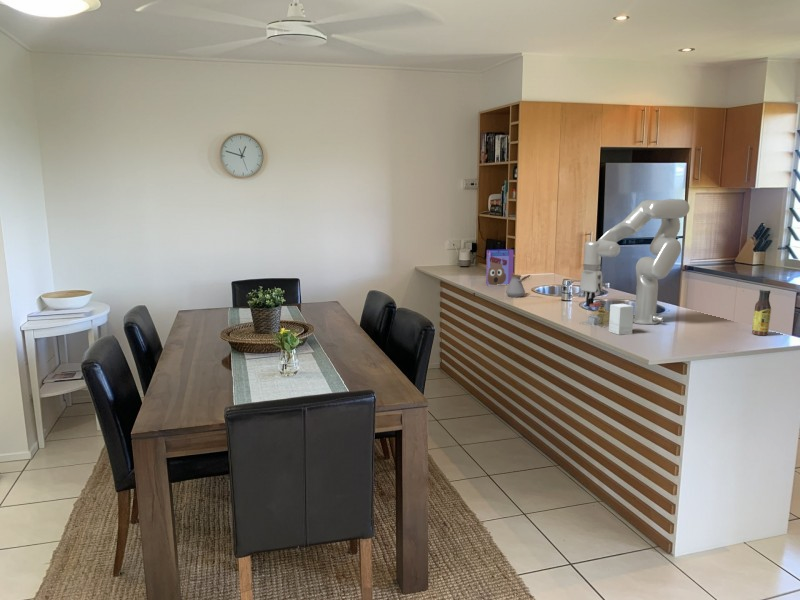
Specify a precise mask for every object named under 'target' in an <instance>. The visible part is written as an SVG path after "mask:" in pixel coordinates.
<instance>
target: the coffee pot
mask: <svg viewBox="0 0 800 600" xmlns="http://www.w3.org/2000/svg"><path fill="white" fill-rule="evenodd" d="M521 277H522V275H521V274H513V275H511V278H512V279H511V281H510V283H509V285H507V287H506V290H505V293H506V295H507V296H508V297H510V298H522V297H523V296H524V295H525V294H526V291H525V288H524V286H523V283H522V281H523V280H525V279H527V278H528V279H532V277H533V276H532V275H531V274H529V275H526V276H524V277H522V278H521Z"/></svg>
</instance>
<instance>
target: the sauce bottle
mask: <svg viewBox="0 0 800 600" xmlns="http://www.w3.org/2000/svg"><path fill="white" fill-rule="evenodd" d="M770 294H771V290H770V289H759V296H758V301H757V302H756V303H755V306H754V311H753V319H752V326H751V331H752V332H751V334H752V335H756V336H767V335H768V334H769V328H770V323H771V322H770V321H771V313H772V308H771V307H772V306H771V303H770Z"/></svg>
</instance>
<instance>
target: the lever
mask: <svg viewBox="0 0 800 600" xmlns="http://www.w3.org/2000/svg"><path fill="white" fill-rule="evenodd" d="M606 303H607V301H606V300H600V299H599V301H593V303H591V304H590V306H589V307H588V308H596V307H597V308H598V307H605V305H606Z"/></svg>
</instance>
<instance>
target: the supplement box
mask: <svg viewBox="0 0 800 600" xmlns="http://www.w3.org/2000/svg"><path fill="white" fill-rule="evenodd" d="M634 309H635V306H634V305H631V304H626V303H614V304H609V311H610V318H609V326H608V332H610V333H613V334H615V335H618V336H620V335H632V334H633V323H634V322H633V318H634Z"/></svg>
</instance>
